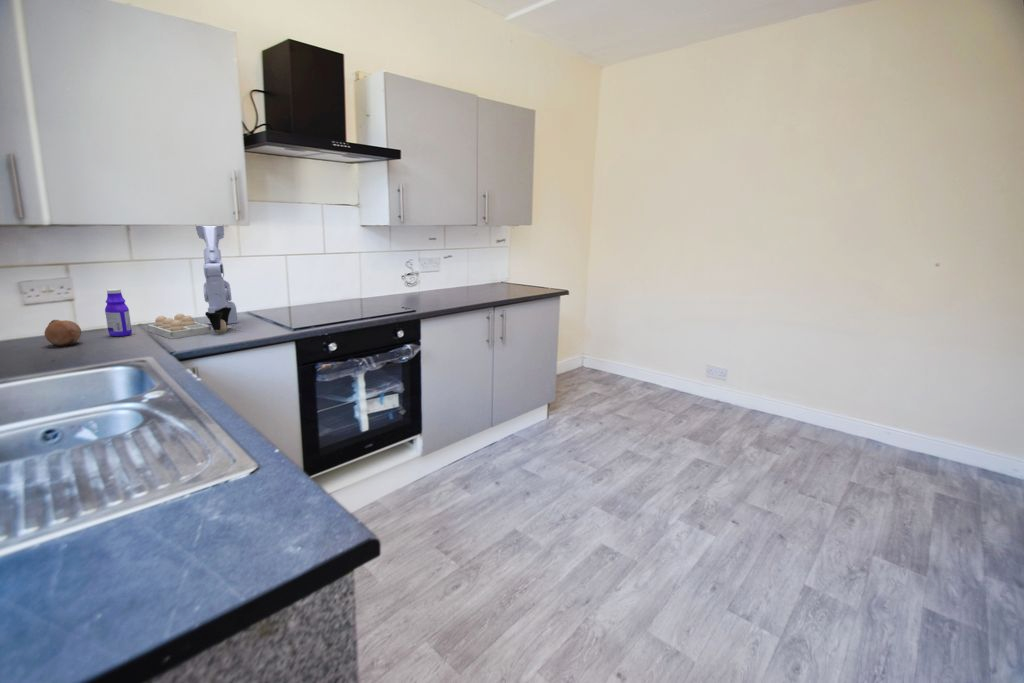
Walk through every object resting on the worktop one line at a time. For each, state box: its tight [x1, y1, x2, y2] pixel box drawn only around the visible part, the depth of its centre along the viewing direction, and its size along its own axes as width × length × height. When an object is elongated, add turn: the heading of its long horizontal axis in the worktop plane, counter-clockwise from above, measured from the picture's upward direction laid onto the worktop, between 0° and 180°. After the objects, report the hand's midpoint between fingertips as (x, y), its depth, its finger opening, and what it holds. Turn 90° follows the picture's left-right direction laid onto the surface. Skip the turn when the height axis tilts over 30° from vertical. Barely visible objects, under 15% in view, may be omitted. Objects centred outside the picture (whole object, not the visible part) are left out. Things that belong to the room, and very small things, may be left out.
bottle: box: [104, 288, 133, 337], centre depth 187 cm, size 7×6×17 cm
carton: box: [147, 313, 212, 340], centre depth 196 cm, size 14×21×6 cm
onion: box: [44, 319, 82, 347], centre depth 173 cm, size 10×9×10 cm
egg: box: [214, 319, 228, 334], centre depth 198 cm, size 4×4×5 cm
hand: (220, 327), depth 199 cm, fingers open, 7 cm apart
